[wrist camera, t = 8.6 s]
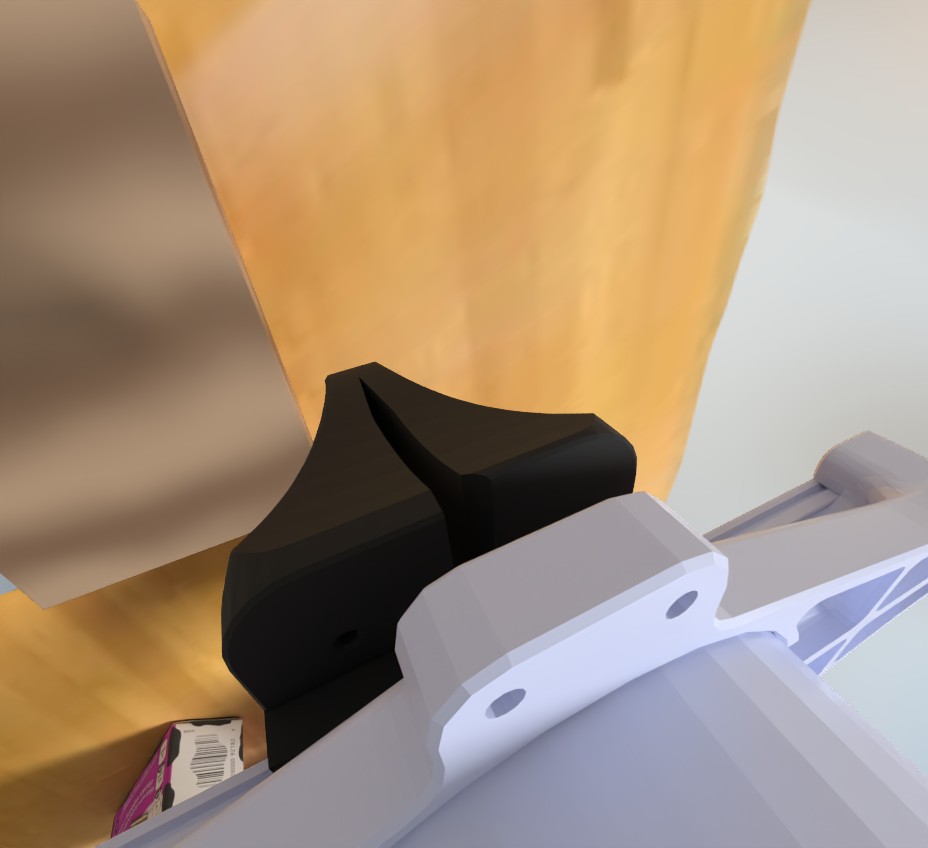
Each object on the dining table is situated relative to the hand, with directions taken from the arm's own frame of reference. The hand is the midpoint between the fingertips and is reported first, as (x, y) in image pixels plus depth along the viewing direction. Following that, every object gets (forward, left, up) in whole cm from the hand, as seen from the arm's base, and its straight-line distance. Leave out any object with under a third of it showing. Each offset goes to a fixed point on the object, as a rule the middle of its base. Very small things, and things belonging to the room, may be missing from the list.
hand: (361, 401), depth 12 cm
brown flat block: (0, +8, -10) cm, 13 cm away
